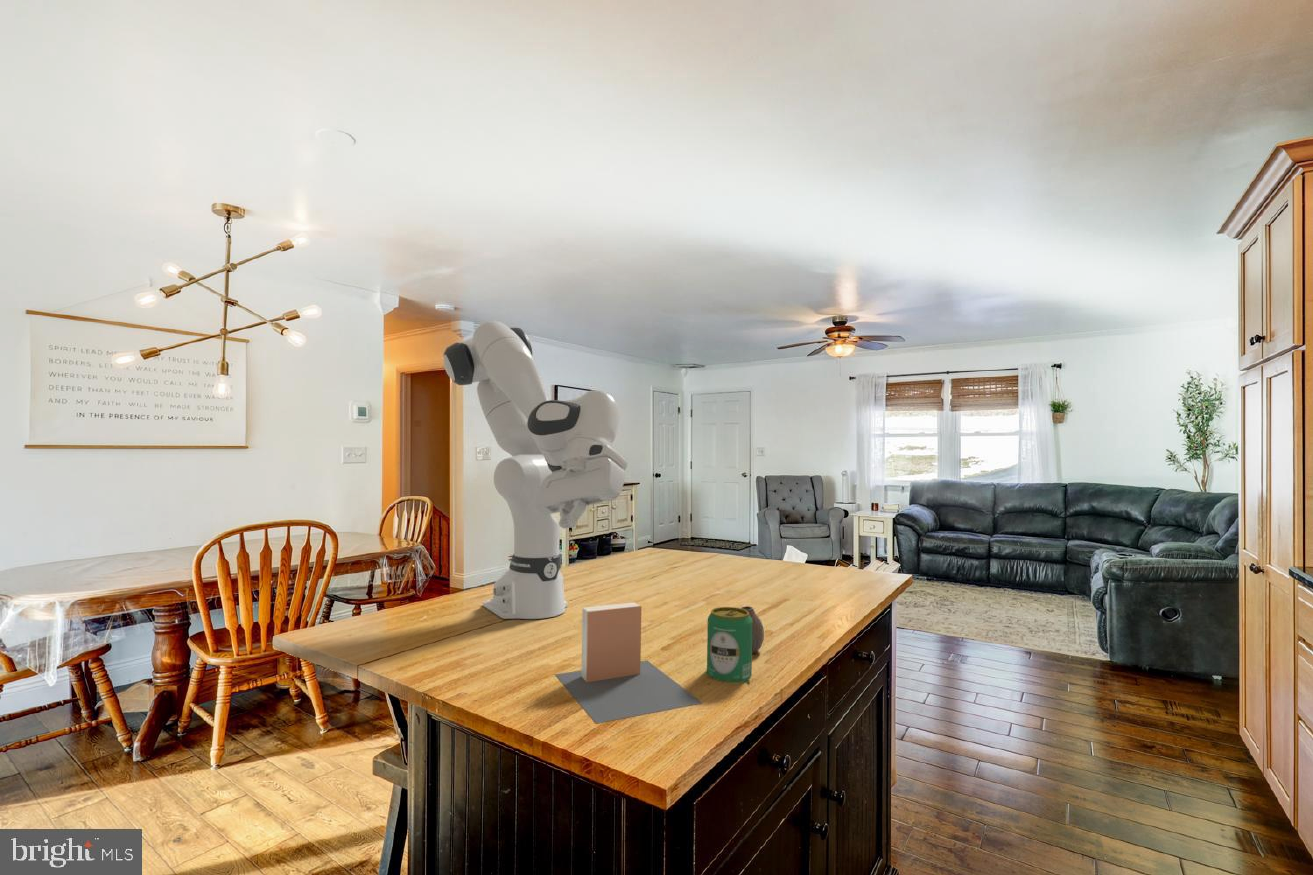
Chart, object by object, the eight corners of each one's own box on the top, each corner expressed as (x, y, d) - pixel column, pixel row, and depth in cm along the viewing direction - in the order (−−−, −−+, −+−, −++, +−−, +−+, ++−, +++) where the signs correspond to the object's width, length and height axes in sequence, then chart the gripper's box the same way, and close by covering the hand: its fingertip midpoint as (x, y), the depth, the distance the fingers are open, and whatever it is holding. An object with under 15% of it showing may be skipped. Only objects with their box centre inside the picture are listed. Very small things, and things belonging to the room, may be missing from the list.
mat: (554, 679, 109) (554, 674, 109) (647, 665, 116) (647, 660, 116) (595, 730, 90) (595, 723, 90) (702, 709, 98) (703, 702, 98)
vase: (722, 650, 126) (723, 607, 126) (742, 642, 131) (743, 601, 131) (751, 658, 121) (751, 614, 121) (770, 650, 126) (770, 607, 127)
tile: (581, 676, 108) (582, 607, 108) (633, 668, 112) (634, 602, 112) (586, 682, 105) (588, 611, 105) (640, 673, 110) (641, 606, 110)
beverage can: (700, 682, 109) (701, 614, 109) (714, 668, 116) (715, 604, 116) (744, 690, 105) (745, 620, 106) (756, 675, 113) (757, 609, 113)
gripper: (537, 465, 124) (517, 526, 116) (613, 443, 112) (595, 509, 105) (559, 480, 128) (540, 541, 120) (634, 460, 116) (619, 526, 108)
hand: (567, 526), depth 112 cm, fingers closed
